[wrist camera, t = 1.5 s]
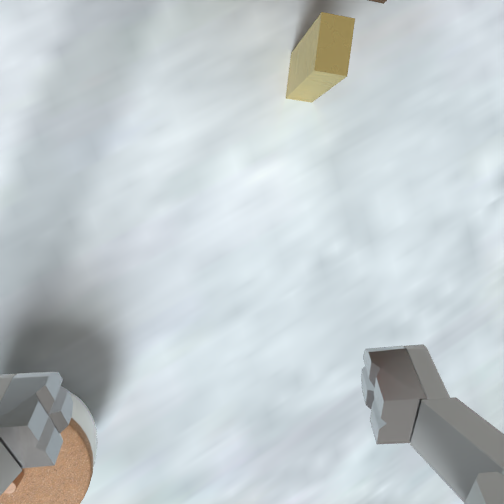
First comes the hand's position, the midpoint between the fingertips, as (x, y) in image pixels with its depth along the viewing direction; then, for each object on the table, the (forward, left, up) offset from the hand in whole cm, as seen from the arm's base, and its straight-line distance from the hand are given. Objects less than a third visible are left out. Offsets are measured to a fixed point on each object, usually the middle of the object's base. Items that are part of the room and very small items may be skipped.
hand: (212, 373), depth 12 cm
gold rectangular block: (-8, +17, -29) cm, 35 cm away
